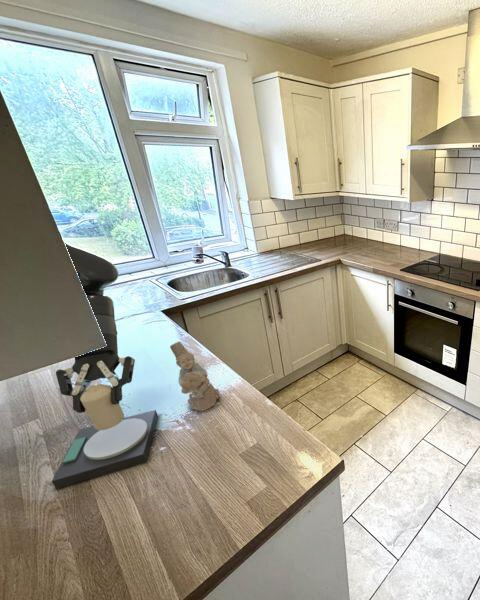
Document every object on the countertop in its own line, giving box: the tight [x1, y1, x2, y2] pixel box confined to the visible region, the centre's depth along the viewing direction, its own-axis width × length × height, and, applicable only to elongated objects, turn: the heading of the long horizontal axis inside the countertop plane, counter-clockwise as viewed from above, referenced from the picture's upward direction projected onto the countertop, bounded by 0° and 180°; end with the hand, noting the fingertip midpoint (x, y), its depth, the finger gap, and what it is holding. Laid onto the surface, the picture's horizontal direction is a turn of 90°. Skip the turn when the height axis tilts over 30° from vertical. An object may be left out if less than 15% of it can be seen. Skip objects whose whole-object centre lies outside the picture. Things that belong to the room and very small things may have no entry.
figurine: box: [169, 341, 220, 412], centre depth 91 cm, size 9×8×20 cm
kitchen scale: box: [51, 409, 159, 490], centre depth 79 cm, size 16×16×3 cm
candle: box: [80, 383, 125, 430], centre depth 75 cm, size 6×6×10 cm
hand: (98, 407), depth 73 cm, fingers closed on candle, 5 cm apart
